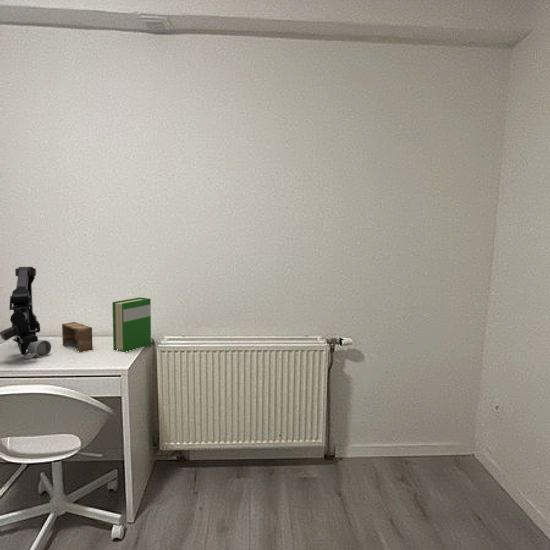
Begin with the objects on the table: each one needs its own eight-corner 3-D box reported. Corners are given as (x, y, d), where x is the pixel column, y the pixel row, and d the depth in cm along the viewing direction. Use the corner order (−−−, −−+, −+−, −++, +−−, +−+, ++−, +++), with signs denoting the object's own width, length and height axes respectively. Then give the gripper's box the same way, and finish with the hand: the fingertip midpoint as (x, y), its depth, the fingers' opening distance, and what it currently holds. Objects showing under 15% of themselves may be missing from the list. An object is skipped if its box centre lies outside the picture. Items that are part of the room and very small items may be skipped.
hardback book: (124, 352, 204) (123, 303, 202) (113, 350, 208) (112, 302, 205) (151, 344, 219) (150, 298, 217) (140, 342, 223) (140, 297, 220)
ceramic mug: (40, 352, 202) (39, 336, 201) (52, 354, 199) (51, 338, 198) (19, 358, 193) (17, 341, 192) (30, 361, 189) (29, 344, 188)
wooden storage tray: (62, 345, 214) (61, 323, 213) (74, 343, 219) (74, 321, 218) (80, 352, 203) (79, 329, 202) (92, 349, 208) (91, 327, 206)
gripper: (-7, 320, 190) (-5, 354, 191) (9, 327, 178) (11, 363, 179) (20, 316, 198) (22, 349, 200) (37, 322, 186) (39, 357, 188)
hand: (23, 354), depth 192 cm, fingers closed
